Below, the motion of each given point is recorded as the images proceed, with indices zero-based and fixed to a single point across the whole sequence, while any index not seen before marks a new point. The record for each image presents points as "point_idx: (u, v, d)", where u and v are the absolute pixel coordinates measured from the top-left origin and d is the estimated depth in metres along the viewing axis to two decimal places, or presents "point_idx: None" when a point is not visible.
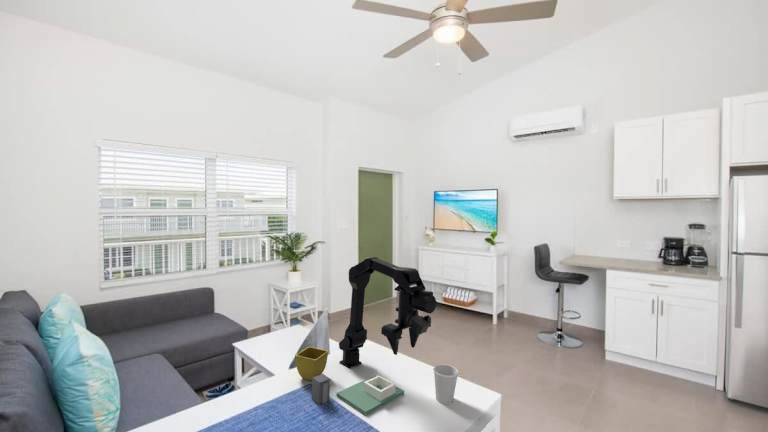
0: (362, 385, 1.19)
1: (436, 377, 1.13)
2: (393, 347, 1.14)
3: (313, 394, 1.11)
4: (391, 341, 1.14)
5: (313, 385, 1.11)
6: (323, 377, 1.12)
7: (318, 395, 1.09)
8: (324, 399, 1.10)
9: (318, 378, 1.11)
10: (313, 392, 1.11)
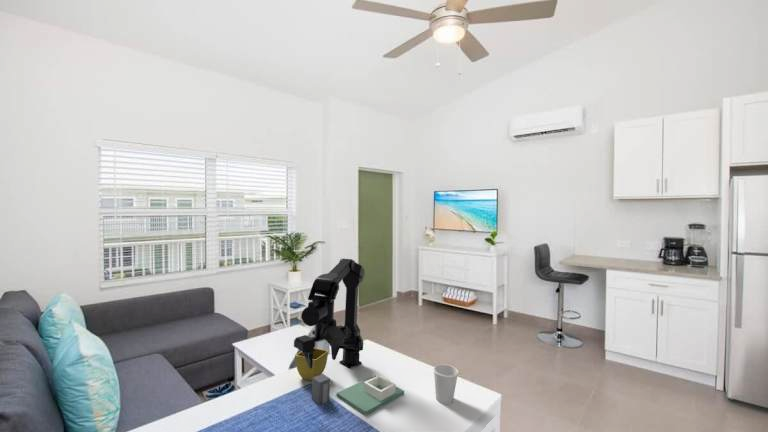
0: (362, 385, 1.19)
1: (436, 377, 1.13)
2: (307, 360, 1.07)
3: (313, 394, 1.11)
4: (305, 354, 1.08)
5: (313, 385, 1.11)
6: (323, 377, 1.12)
7: (318, 395, 1.09)
8: (324, 399, 1.10)
9: (318, 378, 1.11)
10: (313, 392, 1.11)
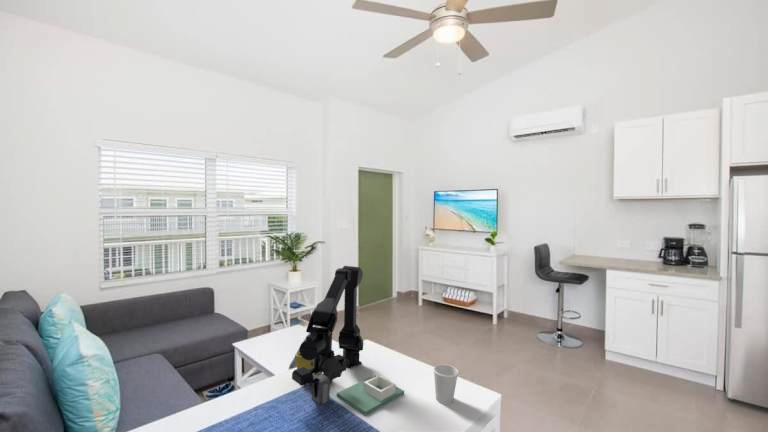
0: (362, 385, 1.19)
1: (436, 377, 1.13)
2: (312, 390, 1.09)
3: None
4: (310, 383, 1.10)
5: None
6: (323, 377, 1.12)
7: (318, 395, 1.09)
8: (324, 399, 1.10)
9: (318, 378, 1.11)
10: None
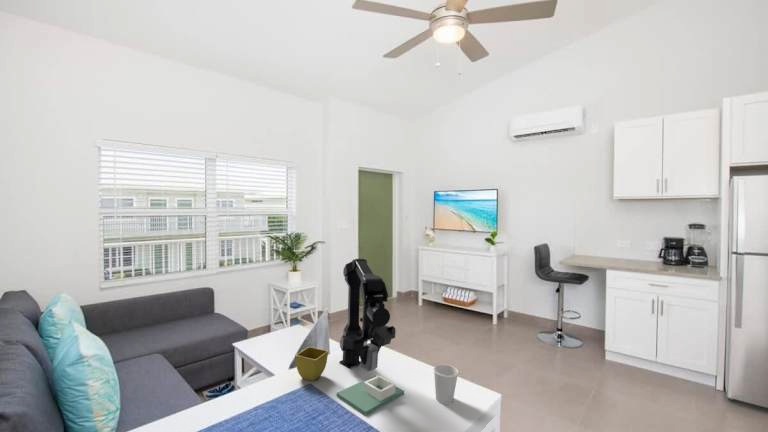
0: (362, 385, 1.19)
1: (436, 377, 1.13)
2: (361, 357, 1.12)
3: None
4: (359, 351, 1.12)
5: None
6: (371, 345, 1.15)
7: (367, 362, 1.12)
8: (373, 366, 1.12)
9: None
10: None
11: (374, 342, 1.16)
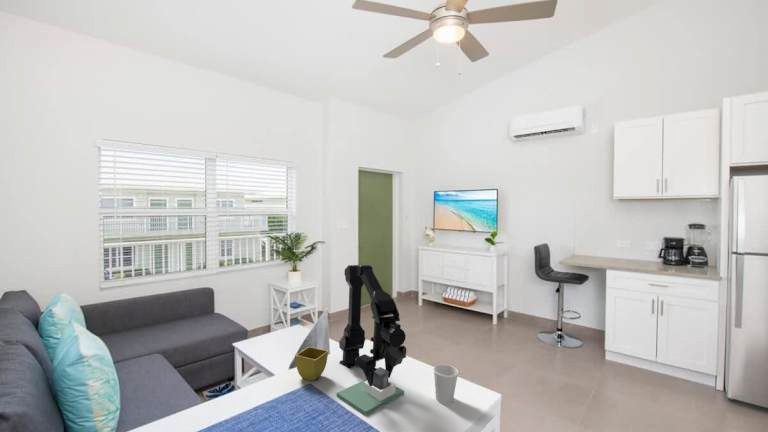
0: (362, 385, 1.19)
1: (436, 377, 1.13)
2: (368, 378, 1.12)
3: None
4: (366, 372, 1.12)
5: (373, 378, 1.15)
6: (382, 369, 1.16)
7: (378, 387, 1.13)
8: None
9: (377, 371, 1.15)
10: (373, 384, 1.15)
11: None
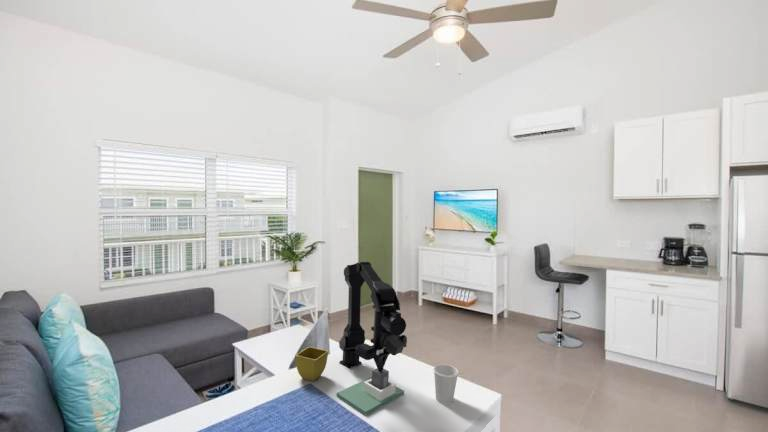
0: (362, 385, 1.19)
1: (436, 377, 1.13)
2: (377, 364, 1.15)
3: None
4: (375, 358, 1.15)
5: (373, 378, 1.15)
6: (382, 370, 1.16)
7: (378, 387, 1.13)
8: None
9: (377, 371, 1.15)
10: (373, 384, 1.15)
11: None
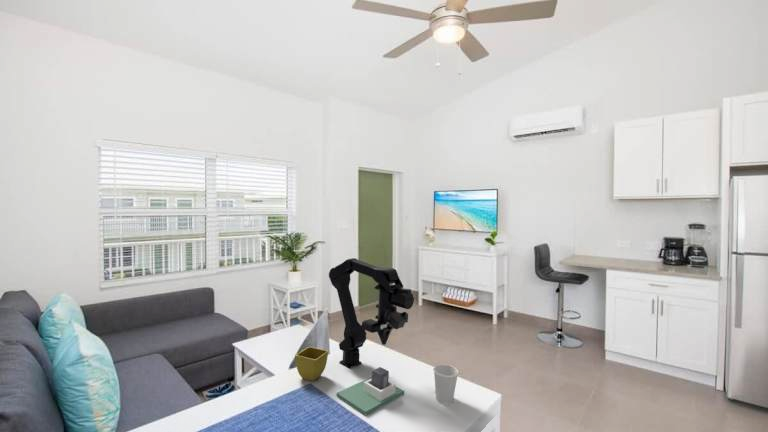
0: (362, 385, 1.19)
1: (436, 377, 1.13)
2: (381, 338, 1.27)
3: None
4: (379, 332, 1.27)
5: (373, 378, 1.15)
6: (382, 369, 1.16)
7: (378, 387, 1.13)
8: None
9: (377, 371, 1.15)
10: (373, 384, 1.15)
11: None
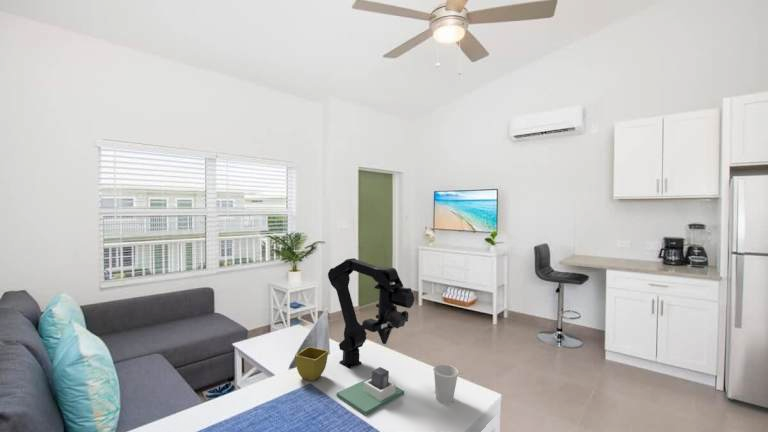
0: (362, 385, 1.19)
1: (436, 377, 1.13)
2: (382, 337, 1.27)
3: None
4: (380, 332, 1.27)
5: (373, 378, 1.15)
6: (382, 369, 1.16)
7: (378, 387, 1.13)
8: None
9: (377, 371, 1.15)
10: (373, 384, 1.15)
11: None
